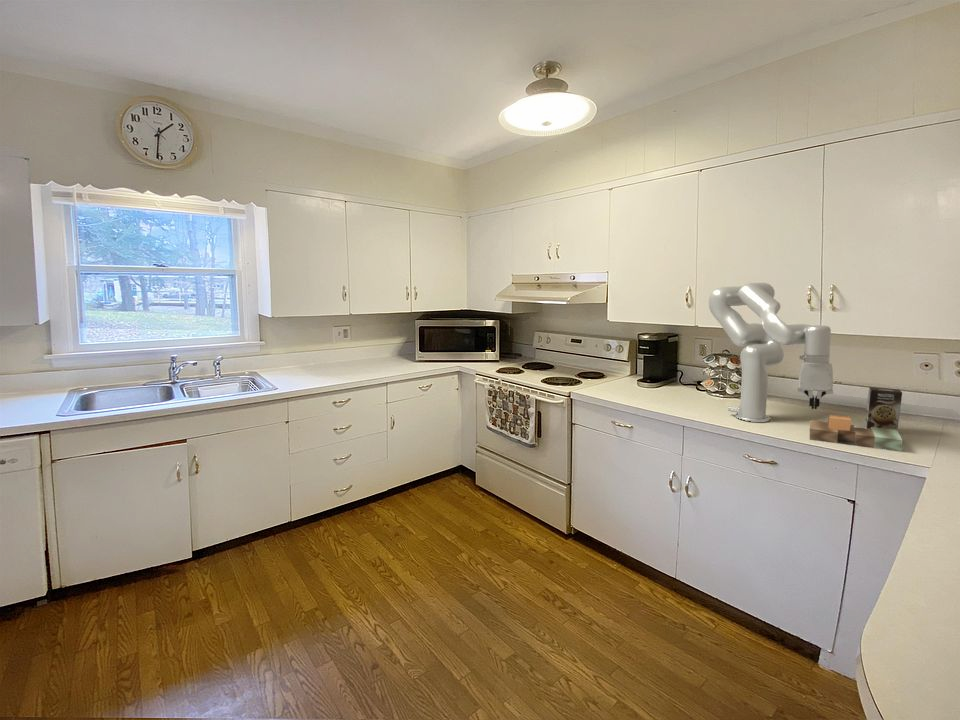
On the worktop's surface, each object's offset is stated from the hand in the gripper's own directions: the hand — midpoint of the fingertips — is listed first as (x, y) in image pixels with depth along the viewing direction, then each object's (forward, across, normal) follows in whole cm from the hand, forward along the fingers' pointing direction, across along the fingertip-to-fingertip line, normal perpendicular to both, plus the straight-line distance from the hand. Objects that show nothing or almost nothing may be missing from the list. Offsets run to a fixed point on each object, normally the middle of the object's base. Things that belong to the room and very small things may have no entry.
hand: (814, 408), depth 173 cm
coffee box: (+11, +21, +19) cm, 30 cm away
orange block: (+7, +8, +1) cm, 10 cm away
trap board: (+11, +12, +1) cm, 16 cm away
